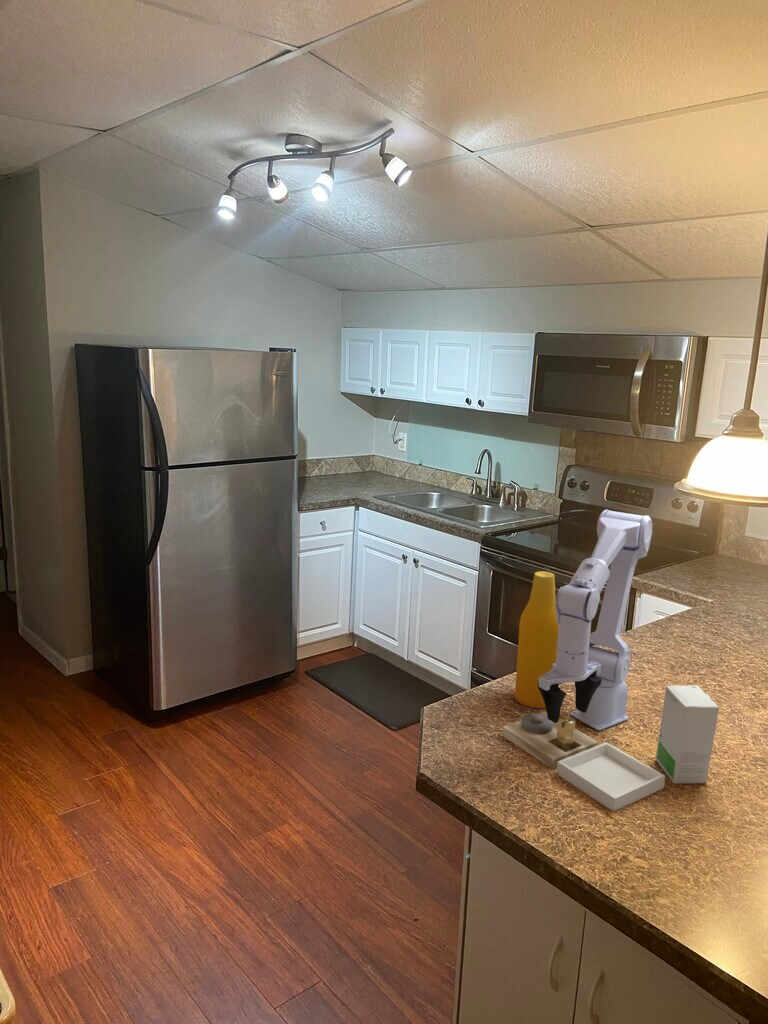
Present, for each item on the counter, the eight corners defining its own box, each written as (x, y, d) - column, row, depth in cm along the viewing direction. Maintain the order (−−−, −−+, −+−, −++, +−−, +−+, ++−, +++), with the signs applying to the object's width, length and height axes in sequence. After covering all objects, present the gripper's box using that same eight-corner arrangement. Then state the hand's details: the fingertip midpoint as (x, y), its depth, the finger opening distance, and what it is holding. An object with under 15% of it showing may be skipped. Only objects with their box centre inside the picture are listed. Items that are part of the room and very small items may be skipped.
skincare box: (654, 759, 142) (663, 684, 138) (688, 759, 142) (697, 683, 139) (674, 785, 134) (684, 705, 130) (710, 784, 134) (720, 705, 131)
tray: (605, 753, 143) (606, 742, 143) (663, 788, 133) (665, 775, 132) (556, 773, 136) (557, 761, 136) (613, 811, 125) (615, 798, 125)
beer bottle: (529, 712, 159) (538, 582, 152) (506, 693, 167) (514, 570, 161) (565, 705, 162) (575, 578, 156) (541, 687, 171) (550, 566, 164)
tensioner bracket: (545, 720, 156) (546, 702, 155) (597, 751, 144) (599, 732, 143) (502, 735, 149) (503, 717, 148) (553, 769, 138) (554, 749, 137)
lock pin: (563, 746, 146) (566, 714, 144) (576, 754, 143) (579, 721, 141) (552, 751, 144) (554, 718, 142) (564, 759, 141) (567, 725, 140)
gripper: (583, 634, 146) (577, 698, 149) (529, 648, 138) (524, 715, 141) (612, 646, 140) (605, 712, 143) (557, 662, 132) (551, 732, 135)
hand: (567, 715), depth 142 cm, fingers open, 7 cm apart
